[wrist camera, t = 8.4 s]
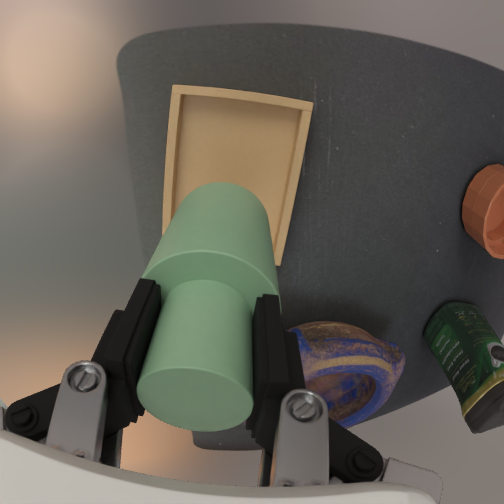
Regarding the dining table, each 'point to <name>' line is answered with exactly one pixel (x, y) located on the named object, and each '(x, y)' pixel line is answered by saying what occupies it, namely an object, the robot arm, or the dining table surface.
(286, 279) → the dining table surface
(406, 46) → the dining table surface
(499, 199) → the clay bowl
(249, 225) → the bottle
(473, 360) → the coffee jar
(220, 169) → the tray
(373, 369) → the bowl
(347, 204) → the dining table surface
